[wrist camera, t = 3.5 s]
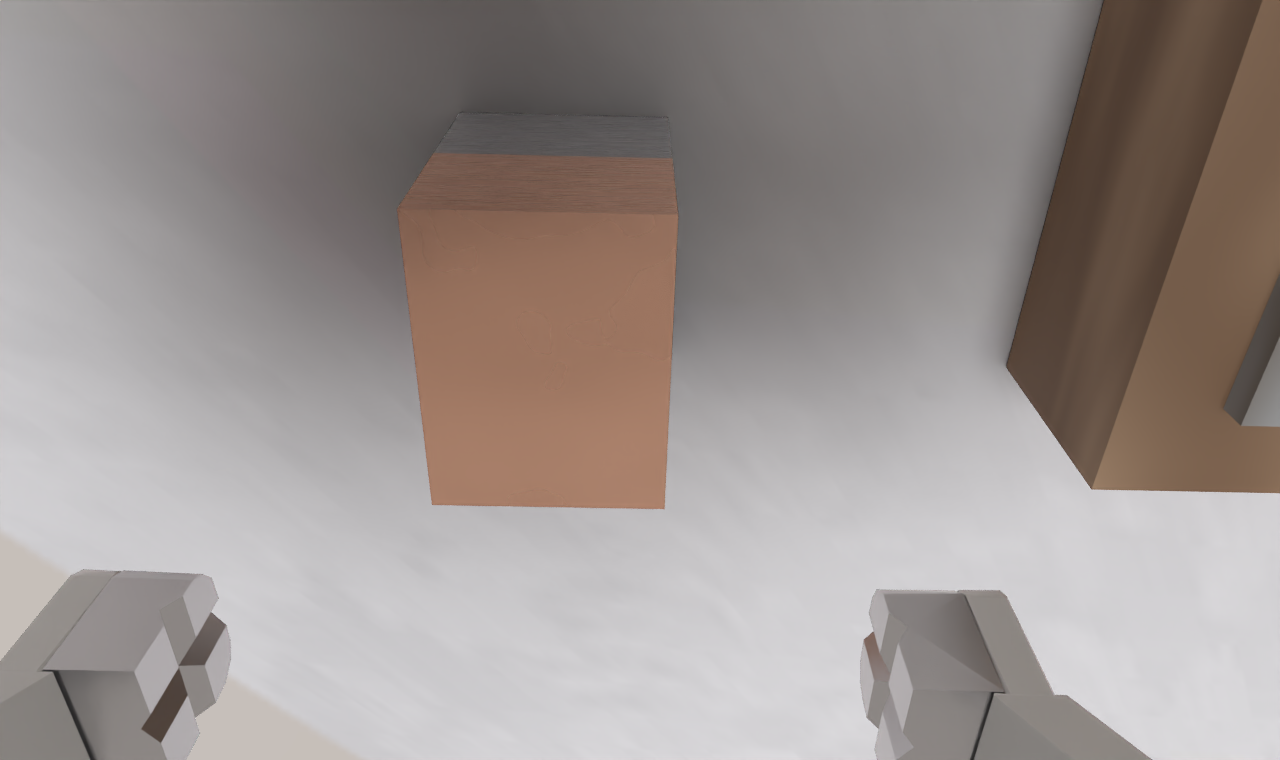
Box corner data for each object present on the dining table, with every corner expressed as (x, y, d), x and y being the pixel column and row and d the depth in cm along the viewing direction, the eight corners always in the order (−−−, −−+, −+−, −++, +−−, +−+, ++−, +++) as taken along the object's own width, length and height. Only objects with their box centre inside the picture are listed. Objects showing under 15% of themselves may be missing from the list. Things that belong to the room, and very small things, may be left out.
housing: (478, 353, 23) (432, 504, 18) (460, 111, 20) (397, 209, 15) (658, 357, 23) (664, 509, 18) (668, 116, 20) (678, 214, 15)
